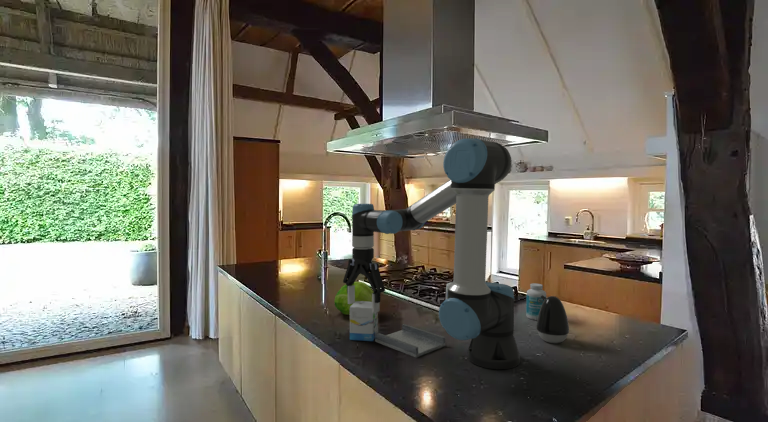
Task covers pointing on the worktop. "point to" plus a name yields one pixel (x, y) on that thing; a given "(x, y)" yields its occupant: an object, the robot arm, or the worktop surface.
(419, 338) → the rail board
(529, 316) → the pill bottle
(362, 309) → the ink box
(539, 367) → the worktop surface
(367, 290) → the lettuce
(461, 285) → the robot arm
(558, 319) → the black rounded dome
